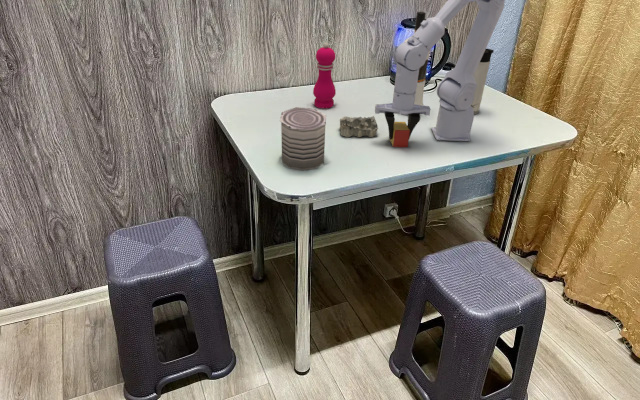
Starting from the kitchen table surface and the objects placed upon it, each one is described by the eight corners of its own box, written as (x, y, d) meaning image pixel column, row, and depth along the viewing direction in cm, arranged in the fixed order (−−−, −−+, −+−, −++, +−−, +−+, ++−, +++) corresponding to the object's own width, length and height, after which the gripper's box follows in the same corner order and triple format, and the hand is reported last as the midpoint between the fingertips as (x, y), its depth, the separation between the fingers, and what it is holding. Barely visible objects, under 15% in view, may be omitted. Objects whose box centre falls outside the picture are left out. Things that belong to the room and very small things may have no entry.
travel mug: (475, 116, 149) (489, 52, 138) (455, 111, 152) (468, 48, 141) (482, 110, 153) (496, 48, 142) (463, 105, 156) (475, 44, 145)
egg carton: (340, 137, 133) (340, 124, 131) (338, 126, 139) (339, 113, 137) (377, 138, 133) (379, 124, 131) (374, 127, 140) (375, 114, 138)
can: (324, 149, 126) (325, 107, 120) (326, 170, 117) (327, 126, 110) (281, 149, 126) (280, 107, 119) (279, 170, 116) (279, 125, 110)
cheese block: (403, 137, 134) (405, 121, 131) (407, 147, 129) (410, 130, 126) (389, 137, 134) (391, 121, 131) (393, 147, 129) (395, 130, 126)
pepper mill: (335, 109, 150) (338, 45, 139) (312, 108, 150) (313, 45, 139) (335, 101, 156) (337, 39, 145) (313, 100, 156) (314, 38, 145)
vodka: (391, 114, 148) (404, 13, 132) (394, 103, 156) (406, 7, 140) (421, 117, 147) (437, 16, 131) (422, 106, 155) (438, 9, 138)
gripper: (378, 95, 120) (373, 143, 127) (435, 97, 120) (427, 145, 127) (376, 85, 126) (371, 132, 133) (430, 87, 126) (423, 134, 133)
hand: (398, 137), depth 131 cm, fingers closed on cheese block, 4 cm apart
